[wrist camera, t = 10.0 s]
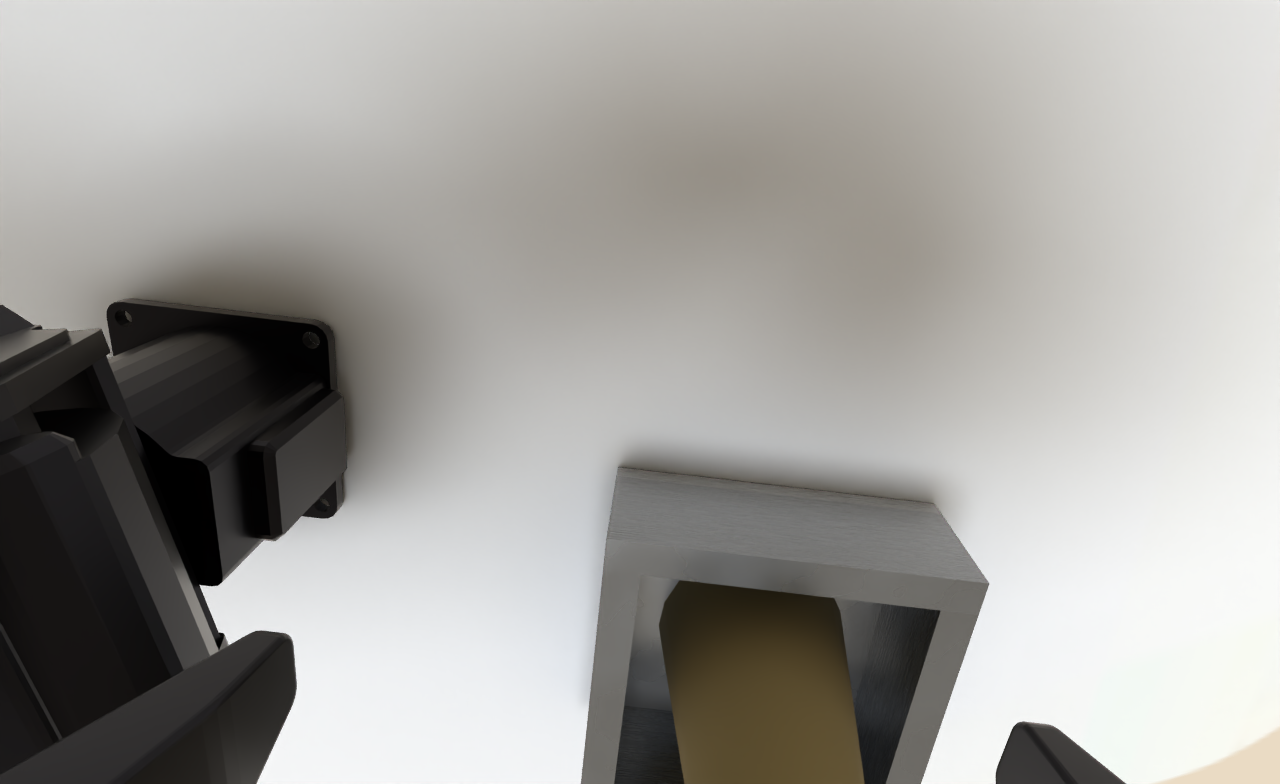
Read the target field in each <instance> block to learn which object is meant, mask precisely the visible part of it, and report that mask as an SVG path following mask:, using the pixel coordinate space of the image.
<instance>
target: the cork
mask: <svg viewBox="0 0 1280 784" xmlns="http://www.w3.org/2000/svg"><path fill="white" fill-rule="evenodd" d="M659 631H660V638H661V645H662V651H663V657H664V663H665V669H666V675H667V681H668V687H669V693H670V700H671V706H672V712H673V718H674V724H675V730H676V736H677V742H678V748H679V754H680V760H681V766H682V772H683V778H684V784H865V782H864V775H863V768H862V761H861V754H860V747H859V740H858V733H857V726H856V719H855V711H854V704H853V697H852V690H851V683H850V676H849V669H848V662H847V655H846V648H845V641H844V634H843V627H842V620H841V612H840V610H839V607H838V605H837V603H836V601H835V598H830V597H821V596H812V595H804V594H795V593H787V592H778V591H770V590H761V589H753V588H744V587H735V586H727V585H718V584H710V583H701V582H693V581H684V580H680V581H679V582H678V583H677V585H676V586H675V588H674V589H673V590H672V592H671V593H670V595H669V596H668V598H667V599H666V601H665V602H664V606H663V610H662V614H661V618H660V622H659Z"/></svg>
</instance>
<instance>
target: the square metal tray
mask: <svg viewBox="0 0 1280 784" xmlns="http://www.w3.org/2000/svg"><path fill="white" fill-rule="evenodd" d="M680 580H684V581H693V582H701V583H710V584H718V585H727V586H735V587H744V588H753V589H761V590H770V591H778V592H787V593H795V594H804V595H812V596H821V597H830V598H835V601H836V603H837V605H838V607H839V610H840V612H841V620H842V627H843V634H844V641H845V648H846V655H847V662H848V669H849V676H850V683H851V690H852V697H853V704H854V711H855V719H856V726H857V733H858V740H859V747H860V754H861V761H862V768H863V775H864V782H865V784H921V782H922V779H923V776H924V773H925V770H926V767H927V764H928V761H929V758H930V755H931V752H932V749H933V746H934V744H935V741H936V738H937V735H938V732H939V729H940V726H941V723H942V720H943V717H944V714H945V711H946V709H947V706H948V703H949V700H950V697H951V694H952V691H953V688H954V685H955V682H956V679H957V676H958V673H959V671H960V668H961V665H962V662H963V659H964V656H965V653H966V650H967V647H968V644H969V641H970V638H971V635H972V633H973V630H974V627H975V624H976V621H977V618H978V615H979V612H980V609H981V606H982V603H983V600H984V597H985V595H986V592H987V589H988V586H989V582H988V581H987V580H986V578H985V577H984V575H983V574H982V572H981V571H980V569H979V568H978V566H977V565H976V564H975V562H974V561H973V559H972V558H971V556H970V555H969V553H968V552H967V550H966V549H965V548H964V546H963V545H962V543H961V542H960V540H959V539H958V537H957V536H956V534H955V533H954V532H953V530H952V529H951V527H950V526H949V524H948V523H947V521H946V520H945V518H944V517H943V516H942V514H941V513H940V511H939V510H938V508H937V507H936V505H935V504H931V503H923V502H914V501H905V500H897V499H888V498H880V497H871V496H862V495H854V494H845V493H837V492H828V491H819V490H811V489H802V488H793V487H785V486H776V485H768V484H759V483H750V482H742V481H733V480H725V479H716V478H707V477H699V476H690V475H682V474H673V473H664V472H656V471H647V470H639V469H630V468H621V467H618V471H617V478H616V484H615V490H614V496H613V502H612V508H611V514H610V521H609V527H608V533H607V539H606V549H605V558H604V568H603V577H602V587H601V597H600V606H599V616H598V625H597V635H596V645H595V654H594V664H593V673H592V683H591V693H590V702H589V712H588V721H587V731H586V741H585V750H584V760H583V769H582V779H581V784H684V778H683V772H682V766H681V760H680V754H679V748H678V742H677V736H676V730H675V724H674V718H673V712H672V706H671V700H670V693H669V687H668V681H667V675H666V669H665V663H664V657H663V651H662V645H661V638H660V631H659V622H660V618H661V614H662V610H663V606H664V602H665V601H666V599H667V598H668V596H669V595H670V593H671V592H672V590H673V589H674V588H675V586H676V585H677V583H678V582H679V581H680Z"/></svg>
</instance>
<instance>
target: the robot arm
mask: <svg viewBox="0 0 1280 784" xmlns="http://www.w3.org/2000/svg"><path fill="white" fill-rule="evenodd" d="M125 311H127V312H128V313H129V314H130V315H131V317H132V322H130V321H129V320H128V319H127V318H126V316H125ZM107 321H108V327H109V333H110V339H111V345H112V351H113V356H114V357H111V358H109V359H107V357H106V355H107V354H109V353H110V349H109V347H108V344H107V342H106V339H105V337H104V334H103V332H102V329H100V328H98V329H88V330H79V331H70V332H68V330H67V329H46V330H43V329H42V327H41V325H37V326H34V325H33V324H31V323H30V322H28V321H27V320H25V319H23V318H22V317H20V316H19V315H17V314H16V313H14V312H13V311H11V310H9V309H8V308H6V307H5V306H3V305H0V784H257V781H258V779H259V777H260V775H261V773H262V771H263V768H264V766H265V764H266V762H267V760H268V757H269V755H270V753H271V751H272V749H273V747H274V744H275V742H276V740H277V738H278V736H279V734H280V731H281V729H282V727H283V725H284V723H285V721H286V718H287V716H288V714H289V712H290V710H291V707H292V705H293V702H294V699H295V695H296V689H297V681H296V669H295V658H294V646H293V641H292V639H291V637H290V636H289V635H287V634H285V633H278V632H269V631H255V632H252V633H250V634H248V635H246V636H245V637H243V638H241V639H239V640H237V641H236V642H234V643H232V644H230V645H228V642H227V640H226V637H225V635H224V634H223V633H218V630H217V628H216V625H215V623H214V620H213V618H212V615H211V613H210V610H209V608H208V605H207V603H206V601H205V598H204V596H203V593H202V591H201V588H200V586H199V585H206V586H218V585H219V584H220V583H222V582H223V581H224V580H225V579H226V578H227V577H228V576H229V575H230V574H231V573H232V572H233V571H234V570H235V569H236V568H237V567H238V566H239V565H240V564H241V563H242V561H243V560H244V559H245V558H246V557H247V556H248V555H249V554H250V553H251V552H252V551H253V550H254V549H255V548H256V547H257V546H258V545H259V544H260V543H261V542H262V541H263V540H268V541H276V540H277V539H279V538H280V537H281V536H283V535H284V534H285V533H286V532H287V531H288V530H289V529H290V528H291V527H292V526H293V525H294V523H295V522H296V521H297V520H298V519H299V518H300V517H301V516H305V517H314V518H330V517H332V516H334V515H335V513H336V512H337V511H338V510H339V509H340V507H341V506H342V503H343V493H342V473H343V472H344V471H345V470H346V468H347V454H346V434H345V413H344V398H343V396H342V395H341V393H340V392H339V391H338V390H337V379H336V360H335V341H334V335H333V332H332V330H331V329H330V327H329V326H328V325H326V324H325V323H324V322H321V321H318V320H311V319H302V318H294V317H285V316H277V315H268V314H259V313H251V312H242V311H233V310H225V309H216V308H207V307H199V306H190V305H181V304H173V303H164V302H155V301H147V300H138V299H124V300H121V301H117V302H114V303H113V304H111V305H110V306H109V308H108V309H107ZM310 332H313V333H315V334H316V335H317V336H318V337H319V340H320V343H319V345H317V344H315V343H313V342H312V341H311V340H310V337H309V333H310ZM320 498H323V499H326V500H327V501H328V502H329V505H330V506H327V505H325V504H323V503H322V502H321V500H320ZM996 784H1126V783H1124V782H1123V781H1122V780H1121V779H1120V778H1118V777H1117V776H1116V775H1115V774H1113V773H1112V772H1111V771H1110V770H1108V769H1107V768H1106V767H1105V766H1103V765H1102V764H1101V763H1100V762H1098V761H1097V760H1096V759H1095V758H1093V757H1092V756H1091V755H1090V754H1089V753H1087V752H1086V751H1085V750H1084V749H1082V748H1081V747H1080V746H1079V745H1077V744H1076V743H1075V742H1074V741H1072V740H1071V739H1070V738H1069V737H1067V736H1066V735H1065V734H1064V733H1063V732H1061V731H1060V730H1059V729H1057V728H1056V727H1054V726H1051V725H1048V724H1040V723H1032V722H1019V723H1017V724H1016V725H1015V726H1014V727H1013V729H1012V731H1011V733H1010V736H1009V739H1008V741H1007V744H1006V746H1005V749H1004V751H1003V754H1002V756H1001V759H1000V761H999V764H998V767H997V771H996Z"/></svg>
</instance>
